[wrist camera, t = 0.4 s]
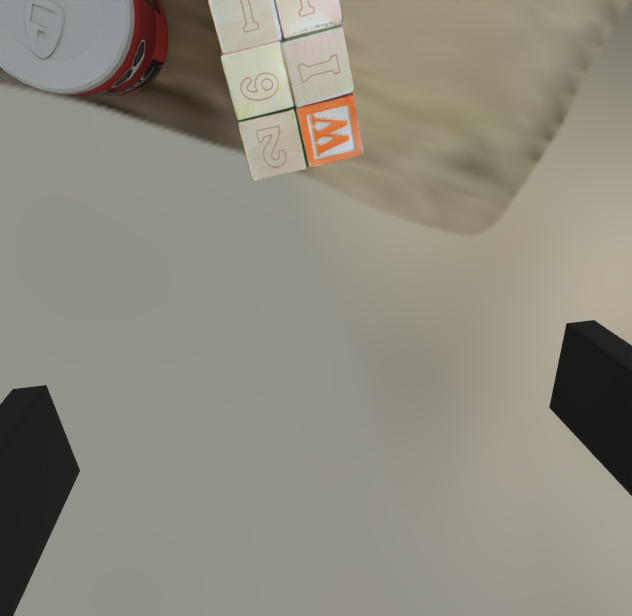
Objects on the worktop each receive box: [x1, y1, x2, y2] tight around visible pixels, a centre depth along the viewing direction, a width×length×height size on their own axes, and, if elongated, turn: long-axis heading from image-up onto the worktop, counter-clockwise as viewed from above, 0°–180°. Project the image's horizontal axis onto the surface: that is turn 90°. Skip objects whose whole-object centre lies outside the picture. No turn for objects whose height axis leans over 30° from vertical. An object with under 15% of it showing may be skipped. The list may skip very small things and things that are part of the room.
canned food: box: [0, 0, 168, 95], centre depth 26 cm, size 8×8×11 cm
